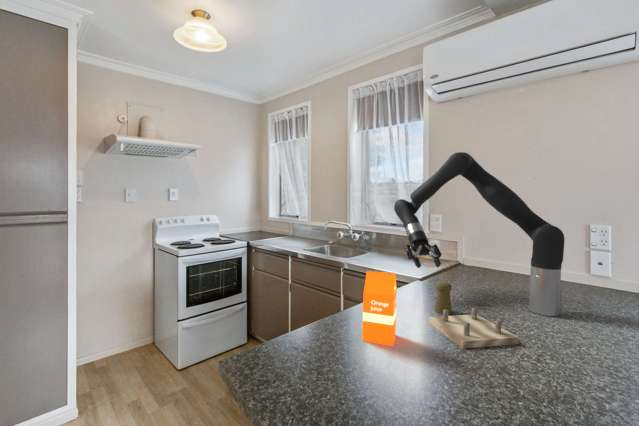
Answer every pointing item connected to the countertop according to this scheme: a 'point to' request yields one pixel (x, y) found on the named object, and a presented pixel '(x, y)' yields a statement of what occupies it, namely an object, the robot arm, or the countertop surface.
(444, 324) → the peg board
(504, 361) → the countertop surface
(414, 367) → the countertop surface
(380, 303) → the orange juice
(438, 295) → the cork
